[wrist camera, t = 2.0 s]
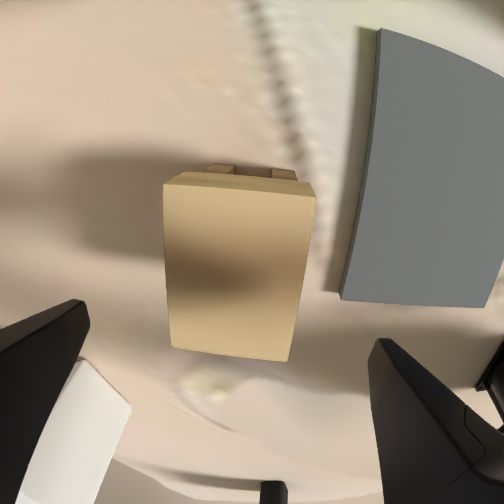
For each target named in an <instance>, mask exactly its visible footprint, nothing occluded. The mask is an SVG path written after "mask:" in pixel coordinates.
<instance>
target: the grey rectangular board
mask: <svg viewBox="0 0 504 504" xmlns="http://www.w3.org/2000/svg"><path fill="white" fill-rule="evenodd" d="M503 259H504V78H503V77H502V76H500V75H498V74H496V73H494V72H492V71H490V70H489V69H487V68H485V67H483V66H481V65H479V64H477V63H474V62H472V61H470V60H468V59H466V58H464V57H462V56H459V55H457V54H455V53H452V52H450V51H448V50H445V49H443V48H440V47H438V46H435V45H432V44H430V43H427V42H424V41H421V40H419V39H416V38H413V37H410V36H407V35H403V34H400V33H397V32H394V31H390V30H387V29H383V28H381V29H379V30H378V31H377V41H376V62H375V77H374V89H373V100H372V110H371V120H370V128H369V136H368V144H367V151H366V159H365V165H364V172H363V178H362V184H361V190H360V196H359V202H358V207H357V213H356V218H355V223H354V228H353V233H352V238H351V243H350V247H349V252H348V257H347V261H346V265H345V270H344V274H343V278H342V282H341V287H340V291H339V295H340V299H341V300H346V301H359V302H373V303H387V304H403V305H421V306H442V307H467V308H484V307H485V305H486V302H487V300H488V298H489V295H490V293H491V291H492V288H493V286H494V283H495V281H496V278H497V275H498V273H499V270H500V267H501V265H502V262H503Z"/></svg>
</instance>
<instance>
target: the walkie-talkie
mask: <svg viewBox="0 0 504 504" xmlns="http://www.w3.org/2000/svg"><path fill="white" fill-rule="evenodd" d="M287 501H288V490H287V487H286V485H285V483H284V482H282V481H273V482H262V483H261V491H260V503H259V504H287Z"/></svg>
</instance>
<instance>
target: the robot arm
mask: <svg viewBox="0 0 504 504" xmlns="http://www.w3.org/2000/svg"><path fill="white" fill-rule="evenodd" d="M89 328H90V319H89V315H88V311H87V307H86V304H85V302H84V301H82V300H77V299H72V300H69V301H67V302H64V303H62V304H59V305H57V306H55V307H52V308H50V309H47V310H45V311H43V312H40V313H38V314H35V315H33V316H31V317H28V318H26V319H24V320H21V321H19V322H17V323H14V324H12V325H10V326H7V327H5V328H3V329H0V504H15V503H16V500H17V497H18V494H19V491H20V488H21V485H22V482H23V479H24V477H25V474H26V471H27V469H28V465H29V463H30V461H31V458H32V456H33V453H34V451H35V448H36V446H37V443H38V441H39V439H40V436H41V434H42V432H43V429H44V427H45V425H46V423H47V420H48V418H49V416H50V414H51V412H52V410H53V407H54V405H55V403H56V401H57V399H58V397H59V395H60V393H61V391H62V389H63V387H64V385H65V383H66V381H67V379H68V377H69V375H70V373H71V371H72V369H73V367H74V365H75V362H76V360H77V358H78V355H79V353H80V350H81V348H82V345H83V343H84V341H85V338H86V336H87V333H88V331H89ZM368 374H369V387H370V402H371V410H372V417H373V423H374V429H375V435H376V442H377V448H378V454H379V462H380V470H381V478H382V486H383V496H384V504H504V424H503V425H502V426H501V427H500V428H499V429H497V430H496V429H495V428H494V427H493V426H491V425H490V424H489V423H487V422H486V421H485V420H484V419H483V418H481V417H480V416H479V415H478V414H477V413H476V412H474V411H473V410H472V409H471V408H470V407H469V406H468V405H465V403H464V402H463V401H462V400H461V399H460V398H459V397H457V396H456V395H455V394H454V393H453V392H452V391H451V390H450V389H448V388H447V387H446V386H445V385H444V384H443V383H442V382H440V381H439V380H438V379H437V378H436V377H435V376H434V375H432V374H431V373H430V372H429V371H428V370H427V369H425V368H424V367H423V366H422V365H421V364H420V363H419V362H417V361H416V360H415V359H414V358H413V357H412V356H410V355H409V354H408V353H407V352H406V351H405V350H403V349H402V348H401V347H400V346H399V345H398V344H396V343H395V342H394V341H393V340H392V339H390V338H378V339H377V340H376V342H375V344H374V347H373V349H372V352H371V354H370V356H369V359H368ZM475 389H476V391H477V392H478V391H484V390H487V392H488V393H489V395H490V397H491V399H492V401H493V403H494V405H495V407H496V409H497V411H498V413H499V415H500V417H501V419H502V421H503V423H504V342H503V343H502V344H501V346H500V348H499V350H498V351H497V353H496V355H495V357H494V358H493V360H492V362H491V363H490V365H489V366H488V368H487V370H486V371H485V373H484V374H483V376H482V377H481V379H480V380H479V382H478V383H477V385H476V386H475Z"/></svg>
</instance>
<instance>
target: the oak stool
mask: <svg viewBox="0 0 504 504" xmlns="http://www.w3.org/2000/svg"><path fill="white" fill-rule="evenodd" d="M234 174H235V165H225V164H212V165H211V166H209V167H208V168H206V169H205V170H203V171H202V172H185V171H184V172H183V173H181V174H179V175H177V176H176V177H174V178H172V179H171V180H169V181H167V182H166V183H164V184H163V228H164V255H165V274H166V290H167V304H168V316H169V327H170V337H171V346H172V347H174V348H180V349H186V350H192V351H199V352H205V353H212V354H219V355H227V356H235V357H243V358H252V359H261V360H272V361H283V362H287V360H288V356H289V351H290V346H291V342H292V337H293V332H294V327H295V322H296V317H297V312H298V307H299V301H300V296H301V291H302V285H303V280H304V274H305V268H306V263H307V257H308V251H309V245H310V239H311V232H312V226H313V220H314V213H315V206H316V199H317V197H316V195H315V193H314V191H313V189H312V187H311V185H310V183H309V182H301V181H298V180H297V177H296V174H295V171H290V170H281V169H272V176H271V178H265V177H255V176H243V175H234Z"/></svg>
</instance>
